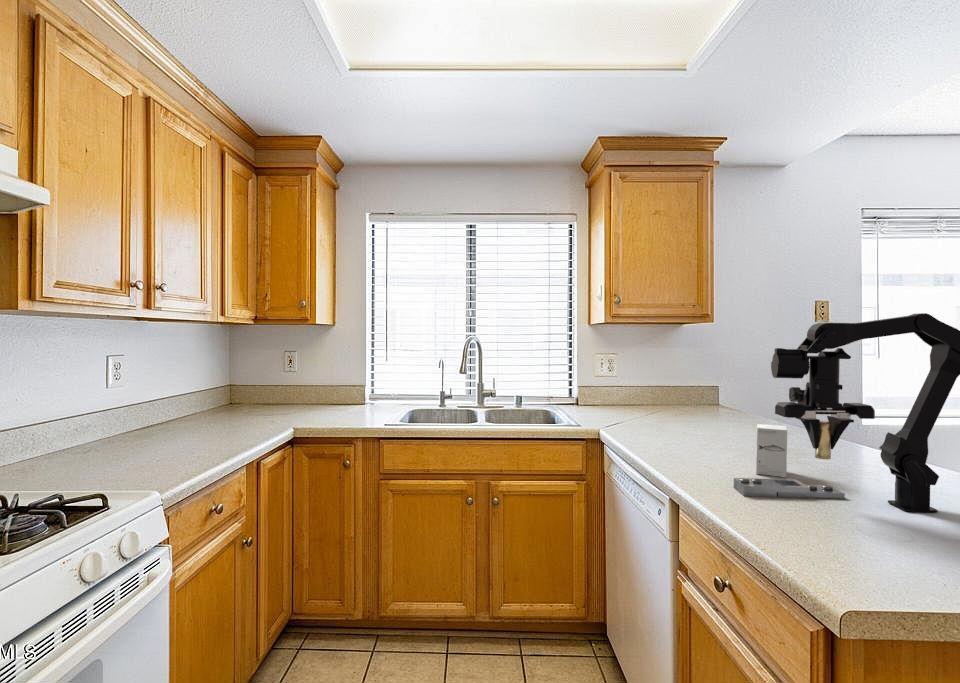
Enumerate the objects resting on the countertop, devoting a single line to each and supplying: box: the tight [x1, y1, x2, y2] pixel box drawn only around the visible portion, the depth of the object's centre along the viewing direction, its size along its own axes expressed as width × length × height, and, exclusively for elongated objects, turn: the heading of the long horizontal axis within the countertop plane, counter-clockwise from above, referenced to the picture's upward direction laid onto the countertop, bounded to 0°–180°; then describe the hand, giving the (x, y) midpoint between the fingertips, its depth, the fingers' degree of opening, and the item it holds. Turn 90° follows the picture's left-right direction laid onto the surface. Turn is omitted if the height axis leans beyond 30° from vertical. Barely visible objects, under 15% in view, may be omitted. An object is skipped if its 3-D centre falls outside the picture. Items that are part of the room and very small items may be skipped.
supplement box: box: [755, 423, 788, 478], centre depth 152 cm, size 7×7×13 cm
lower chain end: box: [776, 484, 846, 500], centre depth 133 cm, size 7×14×2 cm, turn 85°
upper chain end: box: [733, 477, 810, 498], centre depth 134 cm, size 7×14×3 cm, turn 85°
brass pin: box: [814, 420, 832, 460], centre depth 126 cm, size 3×3×8 cm
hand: (823, 448), depth 126 cm, fingers closed on brass pin, 3 cm apart
